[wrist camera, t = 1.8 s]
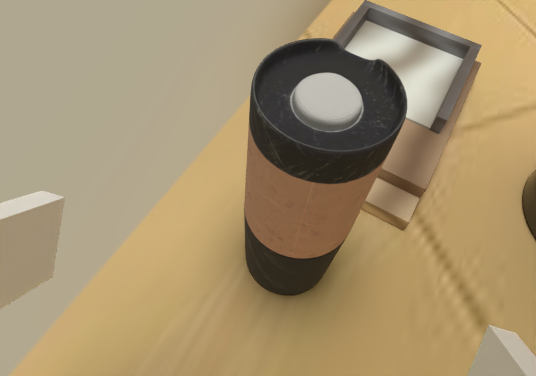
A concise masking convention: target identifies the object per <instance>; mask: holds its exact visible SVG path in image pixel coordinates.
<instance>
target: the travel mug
mask: <svg viewBox="0 0 536 376" xmlns="http://www.w3.org/2000/svg"><path fill="white" fill-rule="evenodd" d="M406 113H407V96H406V91H405V88H404V85H403V83H402V82H401V80H400V78H399V76H398V75H397V74H396V72H395V71H394V70H393V69H392V67H391V66H390V65H389V64H387V63H386V62H385V61H383V60H382V59H376V60H368V59H365V58H362V57H360V56H357V55H355V54H352V53H350V52H348V51H347V50H345V49H344V48H343V47H342V46H341V45H340V43H339V42H337V41H336V40H332V39H325V38H314V39H304V40H299V41H295V42H291V43H288V44H286V45H284V46H281V47H279V48H278V49H276V50H274V51H273V52H271V53H270V54H269V55H267V56H266V58H264V60H263V61H262V62H261V63H260V65H259V66H258V68H257V70H256V72H255V74H254V77H253V81H252V86H251V97H250V114H249V132H248V150H247V168H246V185H245V203H244V214H245V250H246V261H247V265H248V268H249V271H250V273H251V275H252V276H253V277H254V279H255V280H256V281H257V282H258V283H259V284H260V285H261V286H262V287H264V288H265V289H267V290H269V291H271V292H274V293H277V294H281V295H295V294H299V293H302V292H305V291H307V290H309V289H310V288H312V287H313V286H314V285H316V284H317V283H318V281H319V280H320V279H321V278H322V276H323V275H324V273H325V271H326V270H327V268H328V267H329V265H330V263H331V262H332V260H333V258H334V257H335V255H336V253H337V252H338V250H339V249H340V247H341V245H342V244H343V242H344V240H345V239H346V237H347V235H348V234H349V232H350V230H351V228H352V226H353V224H354V222H355V220H356V218H357V216H358V214H359V212H360V210H361V208H362V206H363V204H364V202H365V200H366V198H367V196H368V194H369V192H370V190H371V188H372V186H373V184H374V182H375V180H376V178H377V176H378V174H379V172H380V170H381V168H382V166H383V164H384V162H385V160H386V158H387V156H388V154H389V152H390V150H391V148H392V146H393V144H394V142H395V140H396V138H397V136H398V134H399V132H400V130H401V128H402V125H403V123H404V120H405V118H406Z"/></svg>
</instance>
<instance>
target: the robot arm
mask: <svg viewBox="0 0 536 376" xmlns="http://www.w3.org/2000/svg"><path fill="white" fill-rule="evenodd" d="M64 199H65V197H62V196H58V195H55V194H52V193H48V192H45V191H39V192H36V193H33V194H29V195H26V196H23V197H19V198H16V199H12V200H9V201H5V202H2V203H0V309H1V308H3V307H5V306H6V305H8V304H10V303H11V302H13V301H15V300H16V299H18V298H19V297H21V296H23V295H24V294H26V293H27V292H29V291H31V290H32V289H34V288H35V287H37V286H39V285H40V284H42V283H44V282H45V281H47V280H49V279H50V278H52V277H53V271H54V264H55V258H56V252H57V245H58V239H59V232H60V225H61V219H62V212H63V206H64ZM523 207H524V212H525V216H526V219H527V222H528V224H529V227H530V229H531V231H532V233H533V234H534V236H535V238H536V170H535V171H534V172H533V173H532V174H531V176H530V177H529V179H528V180H527V182H526V185H525V188H524V192H523ZM467 376H536V356H535V355H534V354H533V353H532V352H531V351H530V349H529V348H528V347H527V346H526V345H525V343H524V342H523V341H522V340H521V339H520V337H519V336H518V335H517V334H516V333H515V332H511V331H508V330H505V329H501V328H498V327H495V326H491V325H488V327H487V330H486V332H485V334H484V337H483V339H482V342H481V344H480V346H479V349H478V351H477V354H476V356H475V358H474V361H473V363H472V365H471V368H470V370H469V373H468V375H467Z"/></svg>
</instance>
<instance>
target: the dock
mask: <svg viewBox="0 0 536 376" xmlns="http://www.w3.org/2000/svg"><path fill="white" fill-rule="evenodd" d="M332 40H336V41H337V42H339V43H340V45H341V46H342V47H343V48H344V49H345V50H347V51H348V52H350V53H352V54H355V55H357V56H360V57H362V58H365V59H368V60H376V59H382V60H383V61H385V62H386V63H387V64H389V65H390V66H391V67H392V69H393V70H394V71H395V72H396V74H397V75H398V76H399V78H400V80H401V82H402V83H403V85H404V88H405V91H406V96H407V113H406V118H405V120H404V123H403V125H402V128H401V130H400V132H399V134H398V136H397V138H396V140H395V142H394V144H393V146H392V148H391V150H390V152H389V154H388V156H387V158H386V160H385V162H384V164H383V166H382V168H381V170H380V172H379V174H378V176H377V178H376V180H375V182H374V184H373V186H372V188H371V190H370V192H369V194H368V196H367V198H366V200H365V202H364V204H363V206H362V208H361V209H363V210H365V211H367V212H369V213H371V214H373V215H375V216H377V217H379V218H381V219H383V220H385V221H387V222H389V223H391V224H392V225H394V226H396V227H398V228H400V229H402V230H404V228H405V227H406V226H407V224H408V223H409V221H410V219H411V217H412V214H413V212H414V210H415V208H416V205H417V203H418V201H419V199H420V197H421V196H422V194H423V193H424V192H425V190H426V188H427V186H428V184H429V182H430V179H431V177H432V175H433V172H434V170H435V168H436V166H437V163H438V161H439V159H440V156H441V154H442V152H443V150H444V147H445V145H446V143H447V140H448V138H449V136H450V134H451V131H452V129H453V127H454V125H455V122H456V120H457V118H458V115H459V113H460V111H461V109H462V106H463V104H464V102H465V99H466V97H467V95H468V93H469V90H470V88H471V86H472V83H473V81H474V79H475V77H476V74H477V72H478V70H479V68H480V65H481V63H480V62H477V61H475V59H476V57H477V54H478V52H479V50H480V48H481V46H482V45H479V44H477V43H474V42H472V41H469V40H467V39H464V38H462V37H459V36H456V35H454V34H451V33H449V32H446V31H444V30H441V29H438V28H436V27H433V26H431V25H428V24H426V23H423V22H421V21H418V20H415V19H413V18H410V17H408V16H405V15H403V14H400V13H397V12H395V11H392V10H390V9H387V8H385V7H382V6H380V5H377V4H374V3H372V2H369V1H367V0H365V1H364V2H363V3H362V5H361V6H360V7H359V9H358V10H357V11H356V12H353V13H352V14H351V16H350V17H349V18H348V19H347V21H346V22H345V23H344V25H343V26H342V27H341V28H340V30H339V31H338V32H337V33H336V35H335V36H334V37H333V39H332Z"/></svg>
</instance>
